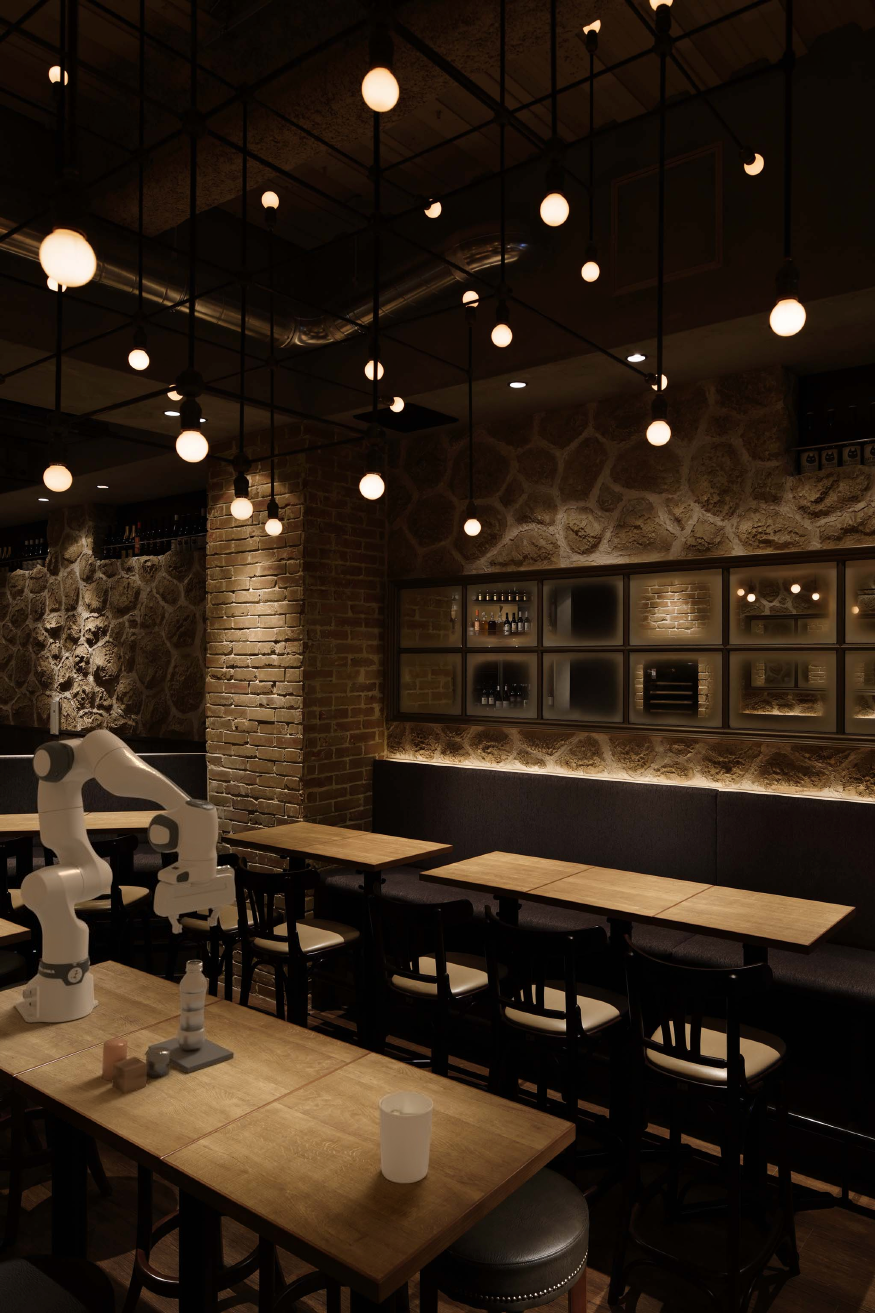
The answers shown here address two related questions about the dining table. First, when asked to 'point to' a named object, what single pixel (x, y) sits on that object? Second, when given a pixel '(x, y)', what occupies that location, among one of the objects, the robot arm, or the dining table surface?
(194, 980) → the plastic bottle
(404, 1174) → the candle holder
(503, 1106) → the dining table surface
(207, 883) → the robot arm
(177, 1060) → the charcoal board
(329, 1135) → the dining table surface
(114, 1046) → the terracotta jar
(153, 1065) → the dark metal tin
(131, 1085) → the walnut block
